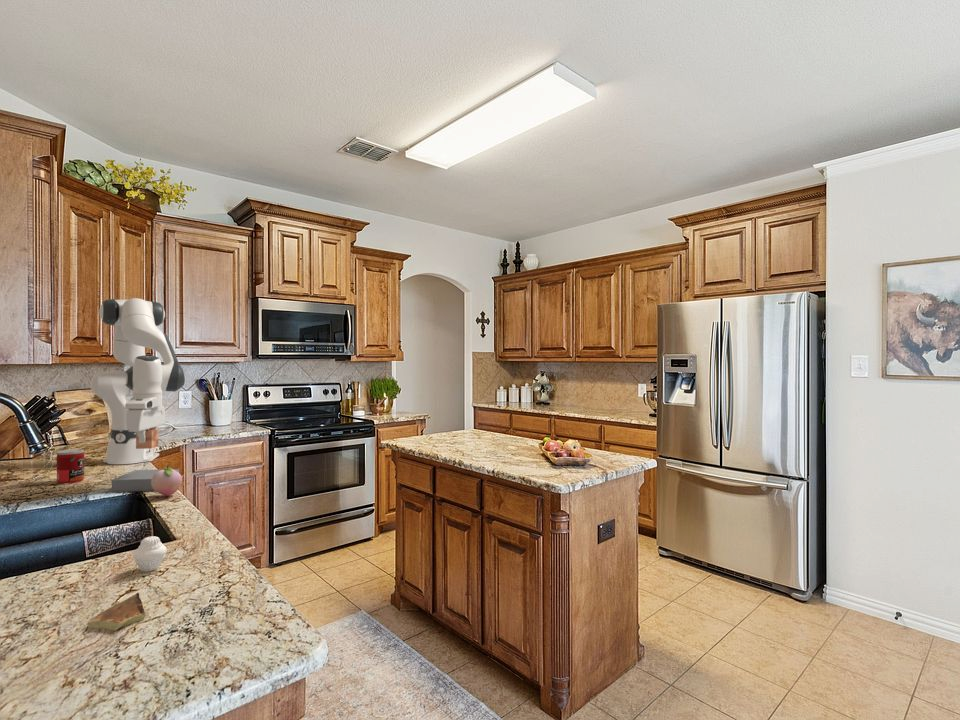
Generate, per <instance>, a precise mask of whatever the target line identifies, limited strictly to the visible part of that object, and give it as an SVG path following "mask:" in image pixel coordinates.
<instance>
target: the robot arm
mask: <svg viewBox="0 0 960 720" xmlns="http://www.w3.org/2000/svg"><path fill="white" fill-rule="evenodd" d="M101 303H102V304H101V305H100V307H99V311H98V313H99V317H100V319H101V321H102V322H103V324H105V325H109V326H114V331H113V348H112V349H113V352H112V355H113V358H114V359H115V360H116V361H118V362H120V363H122V364H124V365H127V366H129V368H127V369H126V370H109V371H103V372H97V373H96V374H94V375H93V376H92V378H91V380H90V385H89V387H90V389H91V391H92V393H94V395H95V396H97V397H98V398H100V399H102V400H103V401H104V402H105V403H106V405H107V406H108V407H109V410H110V413H111V414H110V415H111V429H110V438H111V439H110V440H109V441H108V443H107V449H106V457H105V458H104V459H103V461H102V463H106V464H108V465H129V464H137V463H145V462H152V461H153V460H155V459H156V458H158V457H159V456H160V453H159V452H154V448H148V449H136V432H137V435H138V437H139V443H145V442H146V441H147V437H145V433H146V429H158V427H160V426H164V425H165V424H166V420H167V419H166V409H165V406H164V405H163V392H175V393H176V392H177V391H179V390H181V389H182V387H184V385H185V382H186V375H185V372H184V369H183V367H182V366H181V365H180V362H179V360H178V358H177V355H176V352H175V350H174V347H173V345H172V343H171V341H170V338H169V337H168V335H167V333H165V332H163V331H162V330H161V329H159V328H158V326H161V324H163V322H164V320H165V318H166V312H165V308H164V306H163V305H162V303H161V302H157V301H155V300H151V301H149V300H144V299H143V298H137V297H133V298H129V299H114V298H110V299H105V300H104V301H102V302H101ZM146 348H147V349H150V350H153V351H155V352H157V353H159V354H160V357H161V358H160V357H158V356H155V355H146ZM161 359H162V360H161ZM162 362H163V364H162ZM128 397H130V399H129V400H128V401H127V398H128Z"/></svg>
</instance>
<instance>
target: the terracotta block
mask: <svg viewBox="0 0 960 720" xmlns="http://www.w3.org/2000/svg"><path fill="white" fill-rule="evenodd" d="M159 432H160V431H159V429H158V428H157V429H146V433H145V437H147V441H146V442H145V443H139V437H138V435H137V432H136V449H148V448H153V449H154V448H156V447H159Z"/></svg>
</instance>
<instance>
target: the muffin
mask: <svg viewBox="0 0 960 720" xmlns="http://www.w3.org/2000/svg"><path fill="white" fill-rule="evenodd" d="M167 552H168V548H167V547H166V545H164V544H163V543H162V541H161V539H160V537H158V536H154V535H151V536H147V537H144V538H143V539H142V540H140V545H139V546H138V548H136V549H135V550H134V552H133V554H132V557H133V559H134V562H135V564H136V565H137V567H138V568H139V569H140V571H141V572H143V573H144V572H152V571H155V570H158V569H159V568H160V566H161V564H162V563H163V561H164V559H165V557H166V554H167Z"/></svg>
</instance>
